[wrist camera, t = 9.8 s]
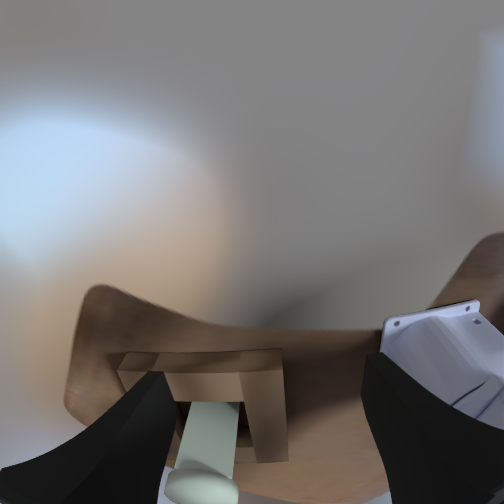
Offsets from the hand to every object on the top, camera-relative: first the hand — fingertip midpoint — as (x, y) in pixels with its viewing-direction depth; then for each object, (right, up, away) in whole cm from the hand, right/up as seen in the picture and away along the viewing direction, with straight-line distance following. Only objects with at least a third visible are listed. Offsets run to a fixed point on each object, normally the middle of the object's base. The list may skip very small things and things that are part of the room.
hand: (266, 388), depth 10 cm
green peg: (-4, -10, +14) cm, 18 cm away
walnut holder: (-4, -9, +14) cm, 17 cm away
